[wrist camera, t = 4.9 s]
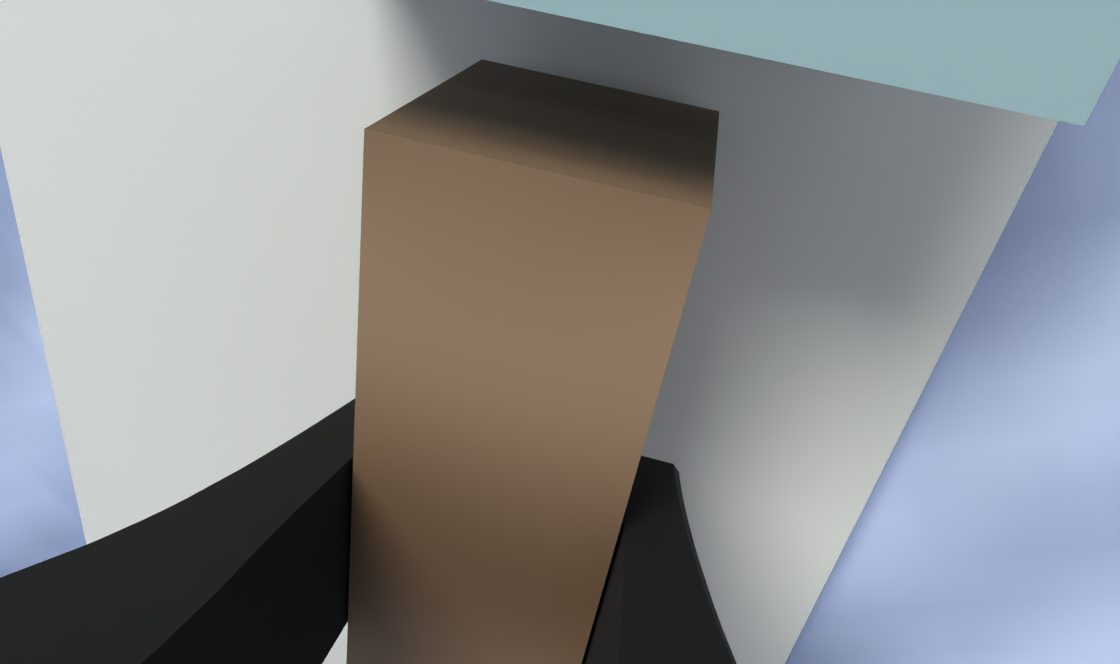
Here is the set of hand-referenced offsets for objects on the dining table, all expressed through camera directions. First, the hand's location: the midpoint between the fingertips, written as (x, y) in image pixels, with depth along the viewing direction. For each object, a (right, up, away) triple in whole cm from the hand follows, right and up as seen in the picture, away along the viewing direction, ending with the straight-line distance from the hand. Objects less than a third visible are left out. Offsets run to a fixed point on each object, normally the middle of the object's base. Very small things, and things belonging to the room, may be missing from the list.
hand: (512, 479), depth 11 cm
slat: (0, +1, +1) cm, 2 cm away
